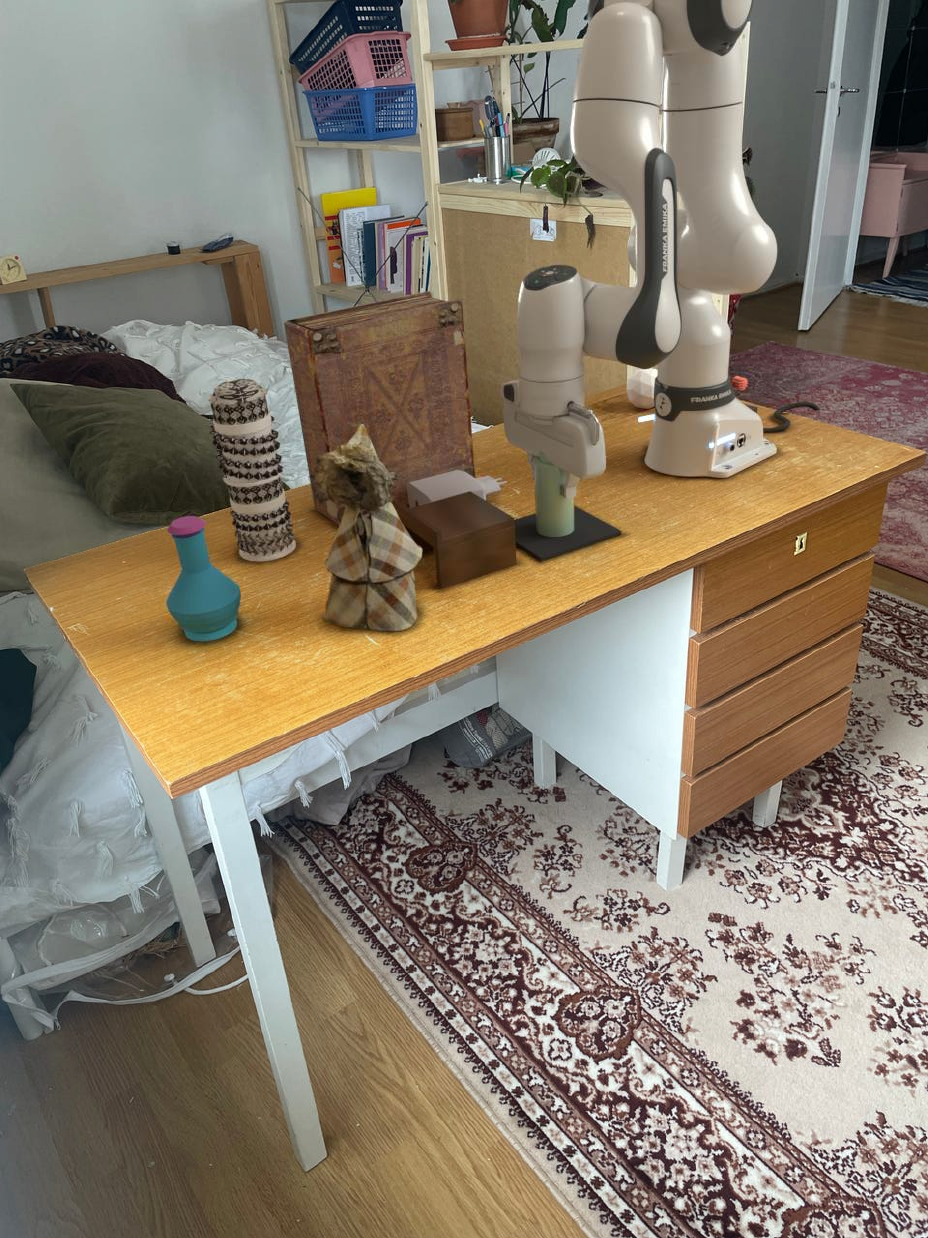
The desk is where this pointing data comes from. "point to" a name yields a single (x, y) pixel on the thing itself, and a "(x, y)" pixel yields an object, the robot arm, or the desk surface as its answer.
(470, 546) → the shelf
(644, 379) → the geometric ball
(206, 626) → the perfume bottle
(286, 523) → the decorative candle
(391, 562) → the plush toy
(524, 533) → the mat
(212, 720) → the desk surface
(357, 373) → the book
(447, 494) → the charger
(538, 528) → the bottle
